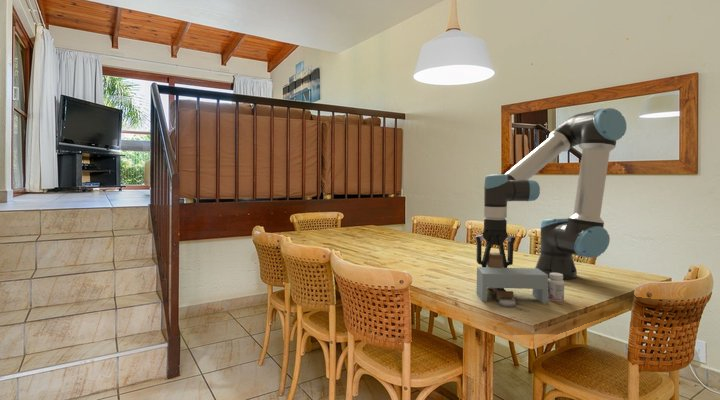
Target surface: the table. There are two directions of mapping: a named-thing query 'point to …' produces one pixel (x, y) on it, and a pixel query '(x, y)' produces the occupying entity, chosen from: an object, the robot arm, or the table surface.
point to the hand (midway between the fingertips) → (494, 283)
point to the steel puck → (507, 302)
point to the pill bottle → (556, 287)
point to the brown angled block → (497, 262)
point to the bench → (512, 280)
